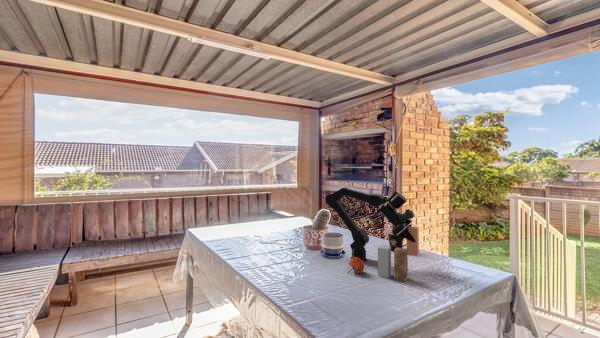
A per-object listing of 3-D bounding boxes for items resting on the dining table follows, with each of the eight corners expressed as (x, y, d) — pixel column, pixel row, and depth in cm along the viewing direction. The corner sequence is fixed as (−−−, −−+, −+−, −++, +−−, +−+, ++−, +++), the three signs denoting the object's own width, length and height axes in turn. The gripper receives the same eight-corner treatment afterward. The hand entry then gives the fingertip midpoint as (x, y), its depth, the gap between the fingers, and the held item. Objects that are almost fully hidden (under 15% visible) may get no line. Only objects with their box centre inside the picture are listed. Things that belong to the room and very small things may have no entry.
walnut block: (394, 279, 119) (394, 250, 119) (397, 275, 123) (396, 247, 123) (405, 281, 117) (405, 251, 117) (407, 277, 121) (407, 249, 121)
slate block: (378, 276, 123) (377, 247, 123) (381, 272, 127) (380, 245, 127) (388, 278, 121) (388, 249, 121) (391, 274, 124) (390, 246, 124)
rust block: (406, 254, 131) (406, 228, 131) (408, 252, 134) (408, 226, 134) (417, 256, 128) (416, 229, 128) (418, 253, 132) (418, 227, 132)
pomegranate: (353, 281, 123) (371, 267, 123) (342, 267, 124) (360, 253, 124) (351, 276, 130) (368, 263, 130) (341, 263, 131) (358, 250, 131)
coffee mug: (385, 249, 163) (384, 232, 163) (396, 247, 167) (396, 231, 167) (399, 255, 152) (399, 236, 153) (411, 252, 156) (411, 235, 156)
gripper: (399, 206, 126) (425, 233, 120) (407, 202, 141) (431, 226, 135) (381, 222, 130) (406, 249, 124) (391, 216, 146) (414, 240, 140)
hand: (415, 240), depth 131 cm, fingers closed on rust block, 4 cm apart
